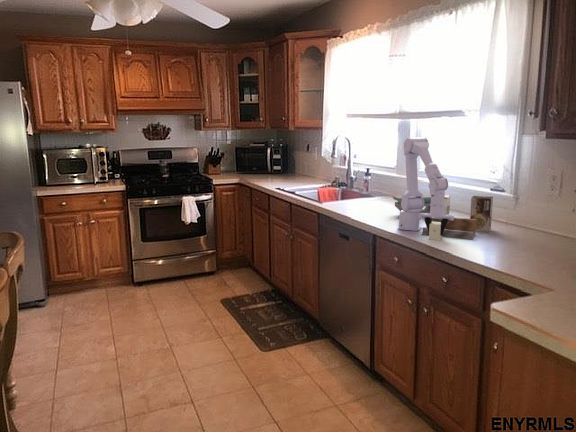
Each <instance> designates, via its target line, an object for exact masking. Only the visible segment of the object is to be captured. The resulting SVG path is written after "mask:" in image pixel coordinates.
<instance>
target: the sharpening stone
mask: <svg viewBox="0 0 576 432" xmlns="http://www.w3.org/2000/svg"><path fill="white" fill-rule="evenodd" d="M422 195H423V200H424V207H423V209H421V211H420V213H430V205H431V194H422ZM413 197H415V196H413ZM413 197H409V198H413ZM392 199H393V200H394V201H395V202H394V207H395V208H397V209H398V211H399V212H400V211H401V210H403V209H402V207H401V201H402V195H393V196H392Z"/></svg>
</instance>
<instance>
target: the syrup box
mask: <svg viewBox="0 0 576 432" xmlns="http://www.w3.org/2000/svg"><path fill="white" fill-rule="evenodd" d="M450 207H451V195H449V194H445V196H444V213H443V214H446V215H450Z"/></svg>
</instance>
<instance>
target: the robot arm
mask: <svg viewBox="0 0 576 432" xmlns="http://www.w3.org/2000/svg"><path fill="white" fill-rule="evenodd" d="M429 147H430V143H429V140H428V139H427V137H425V136H424V137H423V136H422V137H406V139H405V141H404V142H403V155H404V157H405V175H406V176H405V177H406V191H405V192H404V193H403V194H402V195H401V196H402V201H401V207H402V209H403V210H401V211H400V210H399V216H398V217H399V218H398V230H403V231H413V232H414V231H415V232H418V231H420V230H421V229H422V226H420V219H424V220H423V221H424V223H425V225H426V226H427V229H428V234H429V226H430V223H431V222H432V219H442V220H441V233H440V236H442V235H443V232H444V229H445V226H446V224H447V222H448V221H449V220H451V221H453V220H454V218H455V215H452V214H451V215H450V214H449V215H446V214H443V213H444V196H445V195H446V191H447V190H448V188H449V181H448V178H446V177H445V176H444V175H442V173H441V171H440V169H439V167H438V164H436V163H434V162H433V159H432V156H431V154H430V151H429ZM418 157H420V159H421V161H422V163H423V165H424V166H425V167H424V173H425V174H426V177H427V179H428V181H429V183H428V189H429V195H431V205H430V213H420V211H421V209H424V208H425V206H424V200H423V195H424V194H423V193H422V192H421V191H419V182H418V180H419V179H418V178H419V177H418ZM413 196H415V197H413ZM409 197H413V198H409ZM426 226H425V227H426Z"/></svg>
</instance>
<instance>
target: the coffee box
mask: <svg viewBox="0 0 576 432" xmlns="http://www.w3.org/2000/svg"><path fill="white" fill-rule="evenodd" d="M493 200H494V196H487V195H485V196H484V195H473V196H471V198H470V213H469V214H470V216H469V219H476V232H484V233H490V232H491V230H492V218H493V216H492V215H493V205H494V203H493V202H494V201H493Z"/></svg>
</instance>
